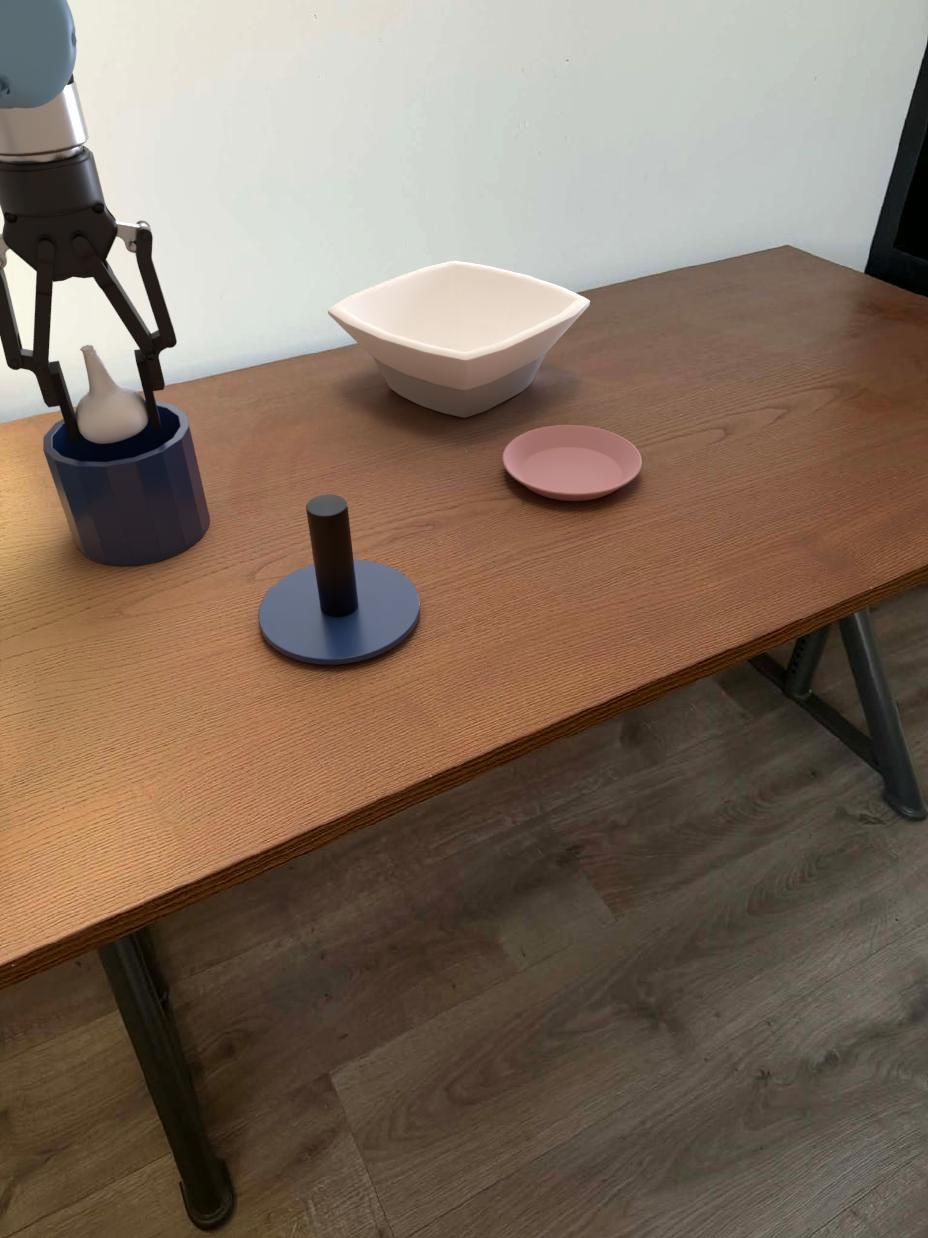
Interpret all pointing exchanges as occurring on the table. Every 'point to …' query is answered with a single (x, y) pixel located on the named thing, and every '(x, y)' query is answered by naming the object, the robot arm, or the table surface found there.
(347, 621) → the lid
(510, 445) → the plate
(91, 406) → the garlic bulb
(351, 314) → the bowl
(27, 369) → the robot arm
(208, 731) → the table surface
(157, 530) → the pot
